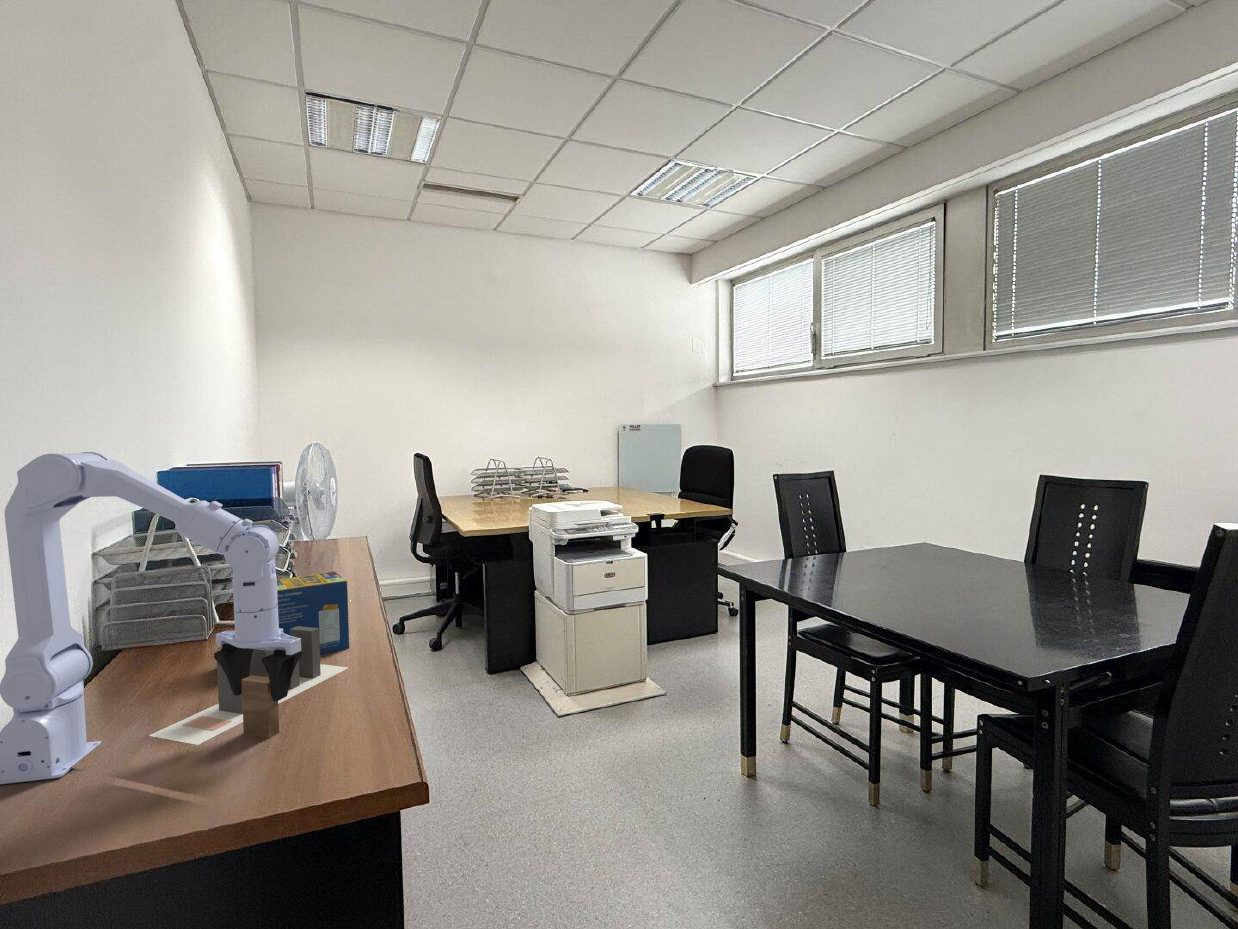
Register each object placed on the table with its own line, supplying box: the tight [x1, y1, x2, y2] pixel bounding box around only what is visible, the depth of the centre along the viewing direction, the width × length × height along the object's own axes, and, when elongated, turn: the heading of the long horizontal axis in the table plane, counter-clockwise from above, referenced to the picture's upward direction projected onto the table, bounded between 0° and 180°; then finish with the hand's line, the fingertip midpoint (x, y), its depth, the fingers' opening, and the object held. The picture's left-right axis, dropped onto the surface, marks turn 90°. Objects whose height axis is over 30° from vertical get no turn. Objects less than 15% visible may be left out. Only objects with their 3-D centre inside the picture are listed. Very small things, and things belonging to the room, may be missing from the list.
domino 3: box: [241, 675, 280, 739], centre depth 94 cm, size 2×5×9 cm, turn 73°
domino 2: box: [250, 649, 274, 677], centre depth 107 cm, size 2×5×9 cm, turn 72°
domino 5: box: [290, 626, 321, 679], centre depth 116 cm, size 2×5×9 cm, turn 73°
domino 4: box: [289, 636, 300, 690], centre depth 111 cm, size 2×5×9 cm, turn 72°
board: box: [148, 663, 349, 746], centre depth 107 cm, size 31×10×1 cm, turn 163°
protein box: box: [277, 571, 350, 656], centre depth 130 cm, size 10×15×16 cm
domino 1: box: [216, 661, 243, 714], centre depth 102 cm, size 2×5×9 cm, turn 73°
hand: (260, 695), depth 94 cm, fingers open, 7 cm apart
